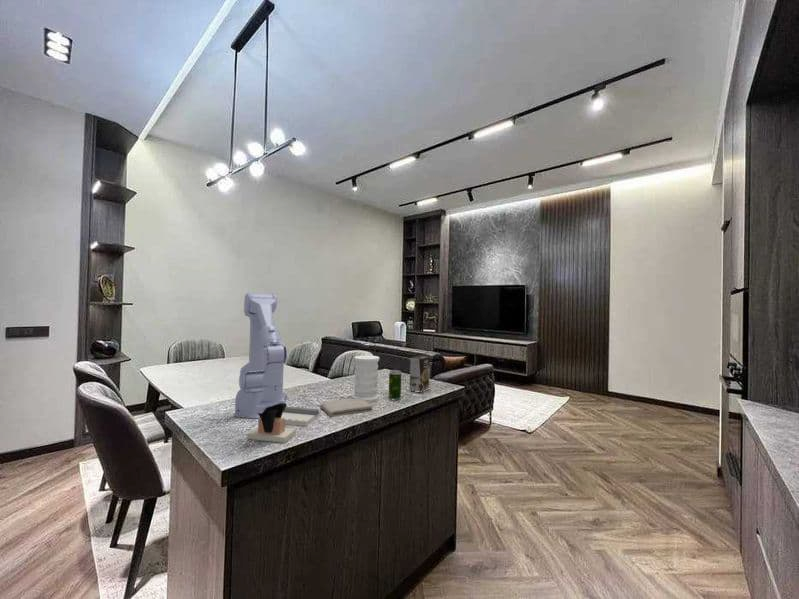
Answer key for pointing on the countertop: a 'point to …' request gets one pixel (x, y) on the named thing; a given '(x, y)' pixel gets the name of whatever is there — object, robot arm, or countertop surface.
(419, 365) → the coffee box
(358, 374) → the decorative container
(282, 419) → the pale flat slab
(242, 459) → the countertop surface
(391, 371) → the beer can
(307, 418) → the ticket board
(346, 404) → the washcloth
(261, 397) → the robot arm
